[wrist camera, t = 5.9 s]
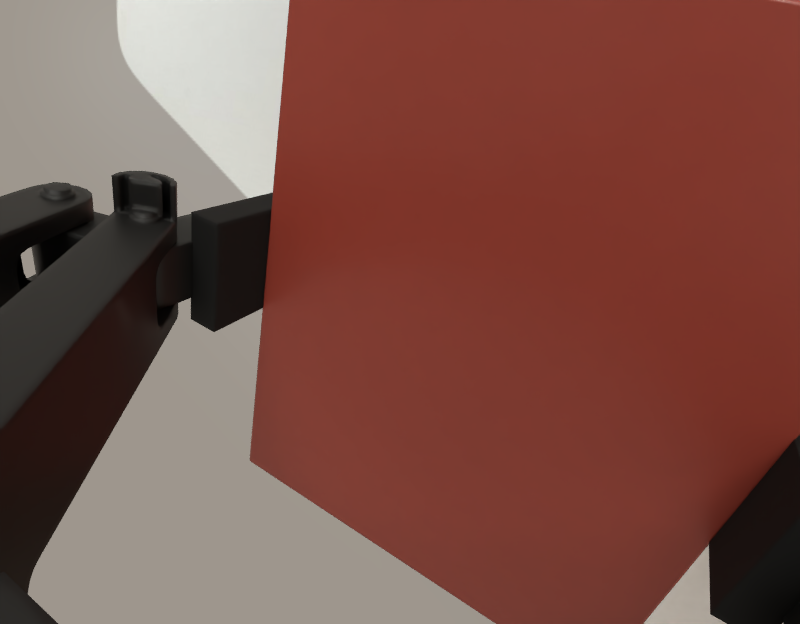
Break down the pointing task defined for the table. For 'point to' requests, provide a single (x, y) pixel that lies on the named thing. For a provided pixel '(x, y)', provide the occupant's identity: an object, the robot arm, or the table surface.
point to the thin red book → (534, 287)
